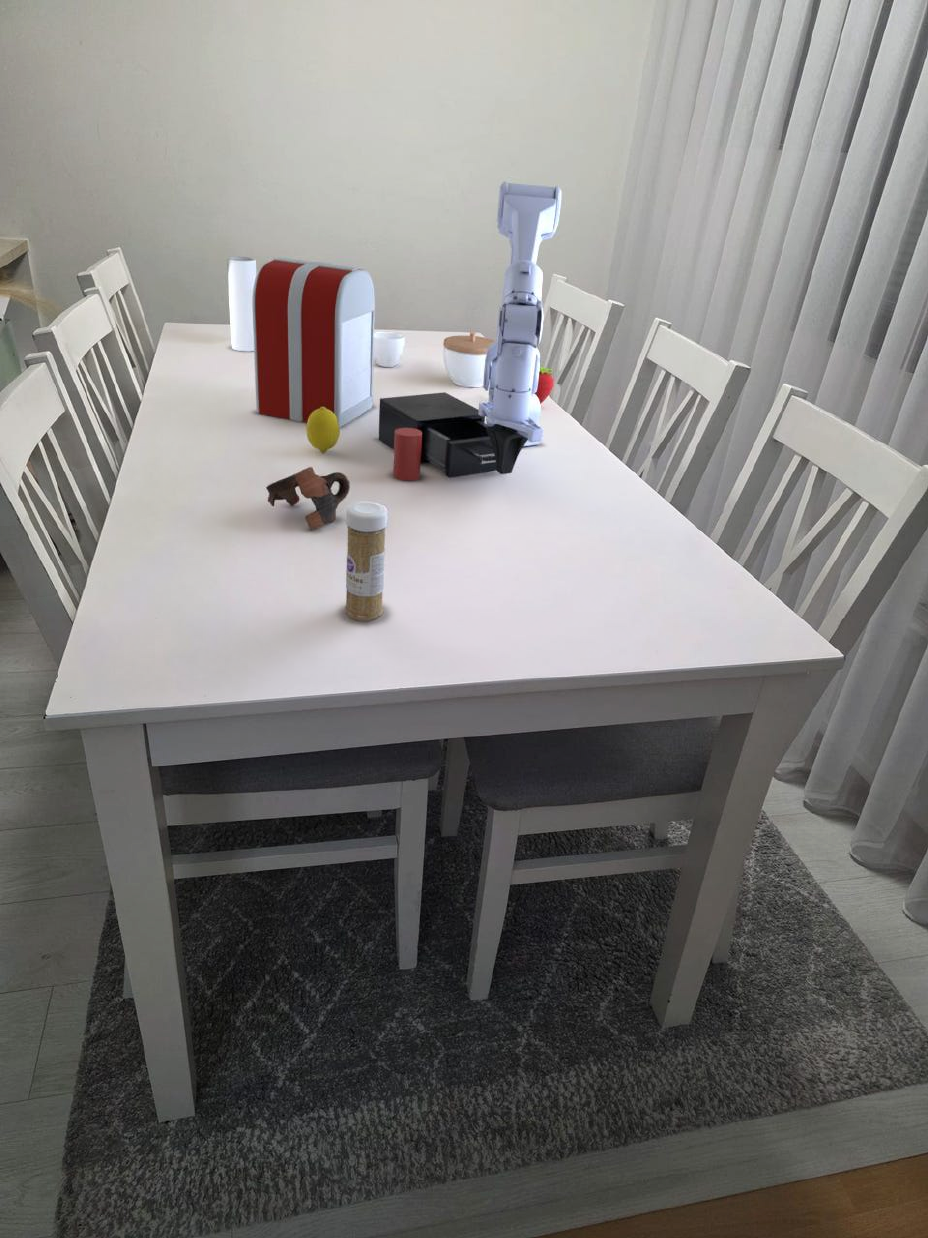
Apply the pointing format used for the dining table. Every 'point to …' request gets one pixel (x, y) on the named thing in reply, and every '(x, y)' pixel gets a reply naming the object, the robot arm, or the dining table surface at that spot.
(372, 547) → the sprinkles bottle
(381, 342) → the cup
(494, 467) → the tray drawer
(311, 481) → the broken mug
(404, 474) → the spice tin
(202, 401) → the dining table surface
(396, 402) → the warmer
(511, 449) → the robot arm
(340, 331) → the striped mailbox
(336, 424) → the lemon
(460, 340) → the lidded bowl
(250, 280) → the vase
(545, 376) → the strawberry
